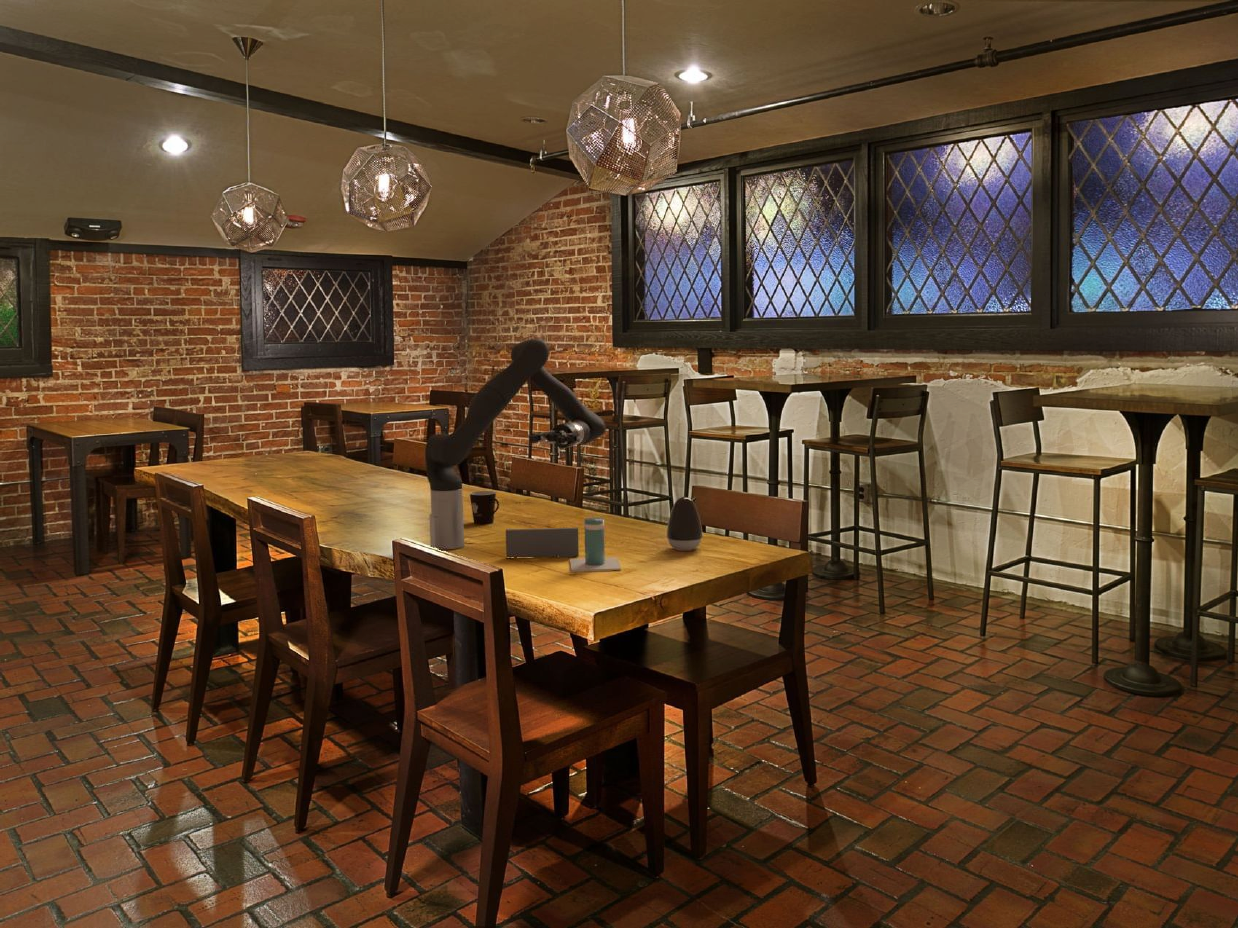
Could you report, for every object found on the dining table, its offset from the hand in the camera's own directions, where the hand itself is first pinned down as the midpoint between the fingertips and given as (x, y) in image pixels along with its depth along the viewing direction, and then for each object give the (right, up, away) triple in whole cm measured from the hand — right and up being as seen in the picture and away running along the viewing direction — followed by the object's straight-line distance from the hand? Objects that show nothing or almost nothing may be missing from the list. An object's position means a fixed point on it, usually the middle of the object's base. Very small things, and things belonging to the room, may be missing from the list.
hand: (544, 440), depth 290 cm
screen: (0, -33, -13) cm, 35 cm away
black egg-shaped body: (+41, -32, -5) cm, 52 cm away
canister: (+15, -34, -24) cm, 44 cm away
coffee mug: (-22, -27, +38) cm, 52 cm away
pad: (+15, -34, -24) cm, 44 cm away
